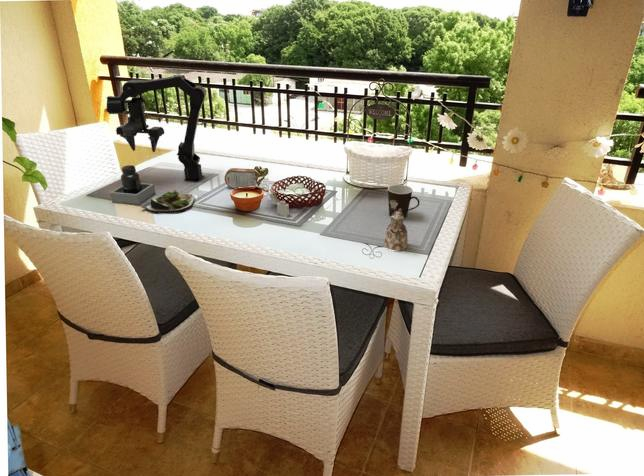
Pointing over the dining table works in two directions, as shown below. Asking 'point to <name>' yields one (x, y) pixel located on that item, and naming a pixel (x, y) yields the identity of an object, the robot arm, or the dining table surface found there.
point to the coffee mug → (400, 199)
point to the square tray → (133, 195)
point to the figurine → (396, 232)
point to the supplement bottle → (130, 180)
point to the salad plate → (170, 203)
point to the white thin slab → (280, 205)
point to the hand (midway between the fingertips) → (144, 151)
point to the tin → (240, 178)
